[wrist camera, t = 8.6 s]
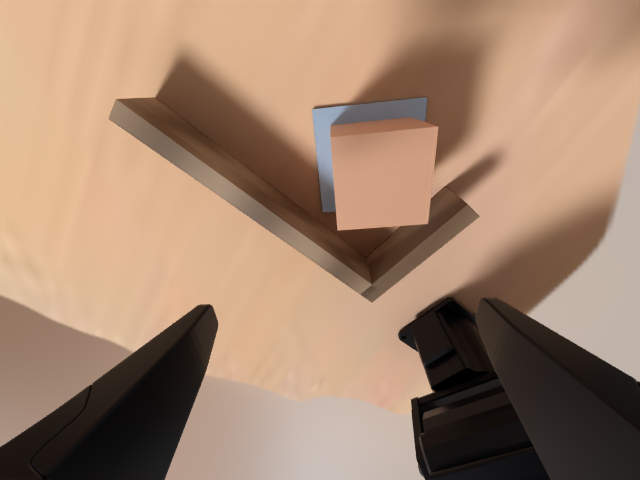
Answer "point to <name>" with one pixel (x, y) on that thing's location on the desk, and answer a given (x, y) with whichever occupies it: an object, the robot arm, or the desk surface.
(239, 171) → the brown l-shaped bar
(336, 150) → the cube
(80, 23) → the desk surface
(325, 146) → the pad
